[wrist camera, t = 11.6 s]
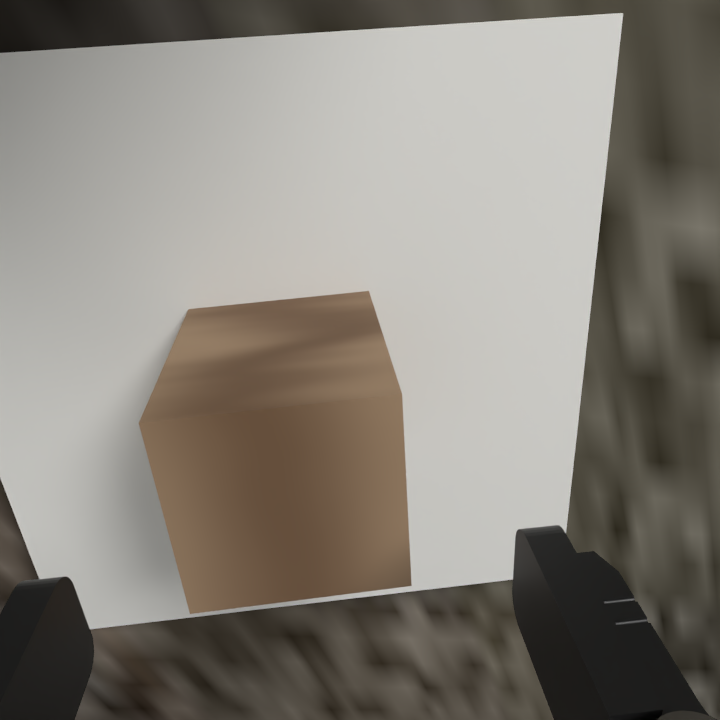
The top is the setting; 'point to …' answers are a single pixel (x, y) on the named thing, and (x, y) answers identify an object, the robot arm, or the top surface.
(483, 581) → the cutting board
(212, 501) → the brown short block
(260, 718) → the top surface
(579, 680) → the robot arm
